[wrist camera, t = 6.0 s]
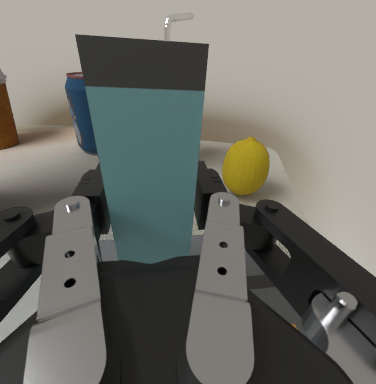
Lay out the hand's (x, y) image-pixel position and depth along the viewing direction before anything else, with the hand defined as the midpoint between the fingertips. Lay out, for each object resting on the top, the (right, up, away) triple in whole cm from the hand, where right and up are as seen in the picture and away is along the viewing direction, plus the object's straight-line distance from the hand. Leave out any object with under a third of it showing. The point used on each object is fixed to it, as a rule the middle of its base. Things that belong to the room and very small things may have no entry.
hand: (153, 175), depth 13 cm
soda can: (-14, +7, +26) cm, 31 cm away
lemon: (+9, -2, +16) cm, 19 cm away
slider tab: (0, -7, +2) cm, 8 cm away
